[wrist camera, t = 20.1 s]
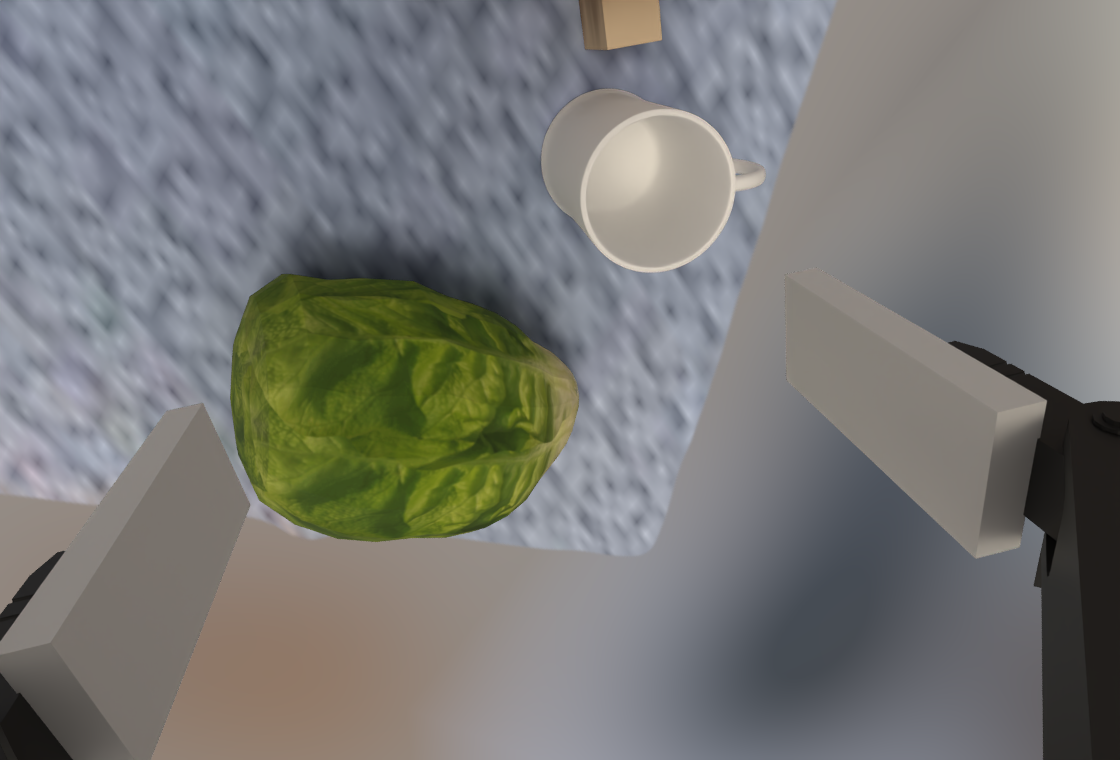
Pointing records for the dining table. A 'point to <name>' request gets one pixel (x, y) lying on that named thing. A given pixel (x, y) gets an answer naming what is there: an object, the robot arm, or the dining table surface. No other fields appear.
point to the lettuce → (392, 408)
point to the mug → (642, 178)
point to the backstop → (619, 23)
